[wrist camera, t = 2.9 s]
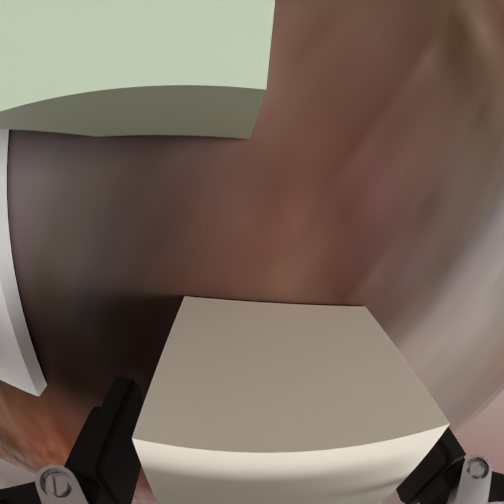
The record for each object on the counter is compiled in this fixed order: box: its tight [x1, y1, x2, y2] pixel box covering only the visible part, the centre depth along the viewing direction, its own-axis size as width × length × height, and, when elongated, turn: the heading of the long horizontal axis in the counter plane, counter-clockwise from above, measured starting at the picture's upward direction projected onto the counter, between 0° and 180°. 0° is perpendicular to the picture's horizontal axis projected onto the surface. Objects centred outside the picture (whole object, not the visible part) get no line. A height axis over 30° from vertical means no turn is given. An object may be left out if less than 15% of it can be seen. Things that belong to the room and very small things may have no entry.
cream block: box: [132, 296, 450, 504], centre depth 8 cm, size 6×6×6 cm
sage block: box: [0, 0, 275, 139], centre depth 5 cm, size 5×5×6 cm
